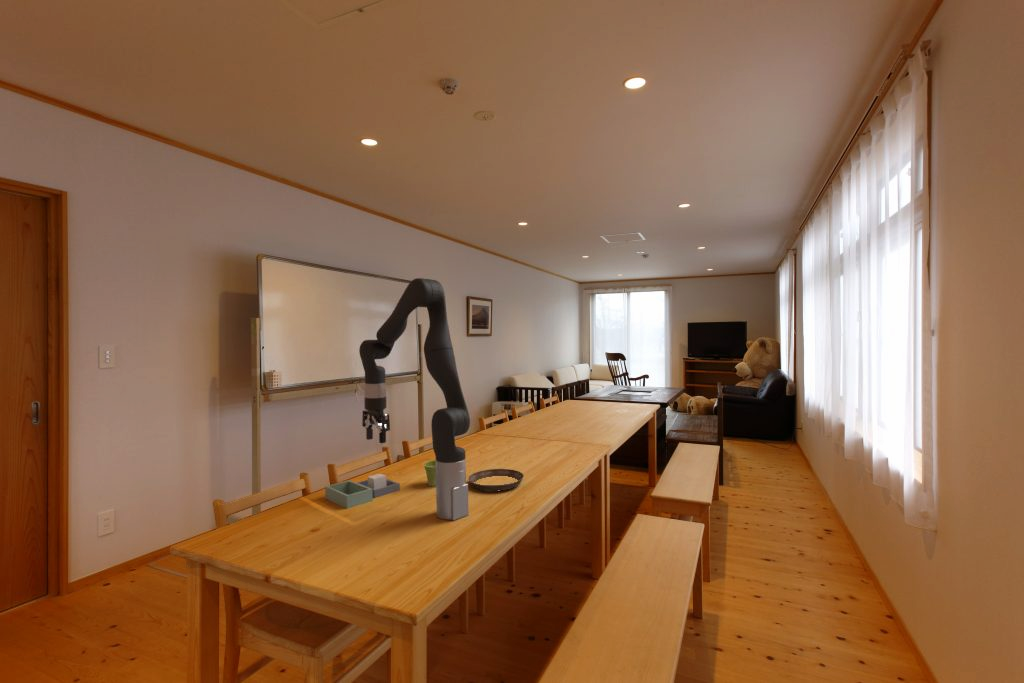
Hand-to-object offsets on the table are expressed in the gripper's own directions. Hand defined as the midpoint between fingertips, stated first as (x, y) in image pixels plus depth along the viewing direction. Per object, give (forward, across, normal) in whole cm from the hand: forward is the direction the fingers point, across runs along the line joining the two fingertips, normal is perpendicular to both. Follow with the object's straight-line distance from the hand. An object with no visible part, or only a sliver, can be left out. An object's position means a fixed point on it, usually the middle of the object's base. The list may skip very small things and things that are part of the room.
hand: (375, 441), depth 167 cm
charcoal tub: (+19, 0, 0) cm, 19 cm away
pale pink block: (+18, 0, 0) cm, 18 cm away
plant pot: (+19, -11, -18) cm, 28 cm away
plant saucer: (+19, -26, -34) cm, 47 cm away
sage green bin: (+19, -1, +11) cm, 22 cm away
